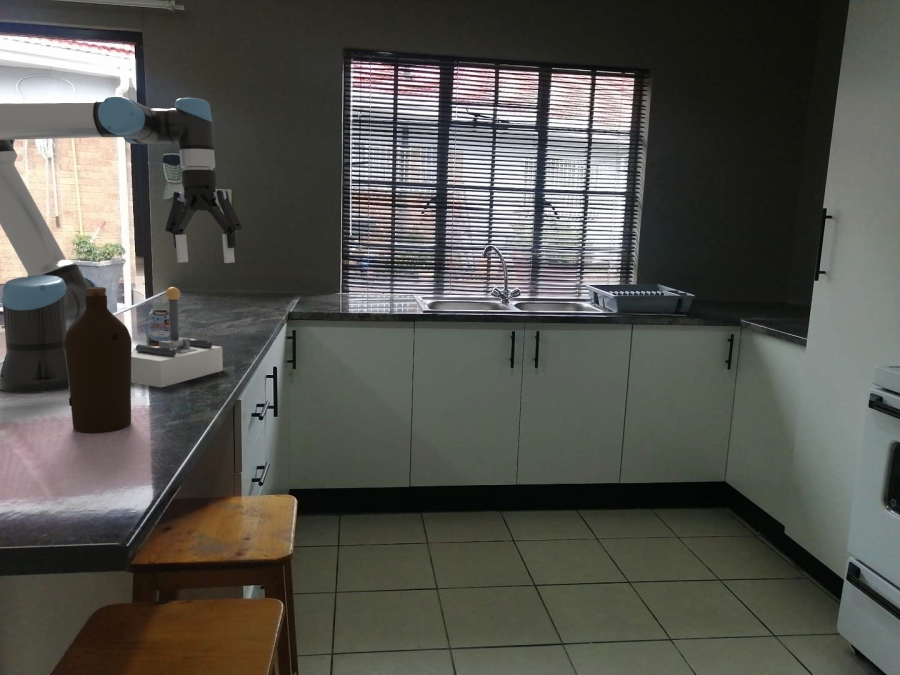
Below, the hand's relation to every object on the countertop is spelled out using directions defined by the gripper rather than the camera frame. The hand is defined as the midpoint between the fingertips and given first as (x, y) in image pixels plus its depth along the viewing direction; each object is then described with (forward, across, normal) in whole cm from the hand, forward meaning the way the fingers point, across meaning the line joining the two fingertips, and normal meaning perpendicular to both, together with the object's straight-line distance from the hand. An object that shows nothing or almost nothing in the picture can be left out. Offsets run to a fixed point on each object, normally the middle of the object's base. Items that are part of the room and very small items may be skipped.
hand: (205, 262), depth 159 cm
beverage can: (+26, +32, -16) cm, 44 cm away
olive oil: (+27, -9, +41) cm, 50 cm away
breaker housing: (+27, +8, +4) cm, 28 cm away
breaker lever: (+19, +8, +4) cm, 21 cm away
